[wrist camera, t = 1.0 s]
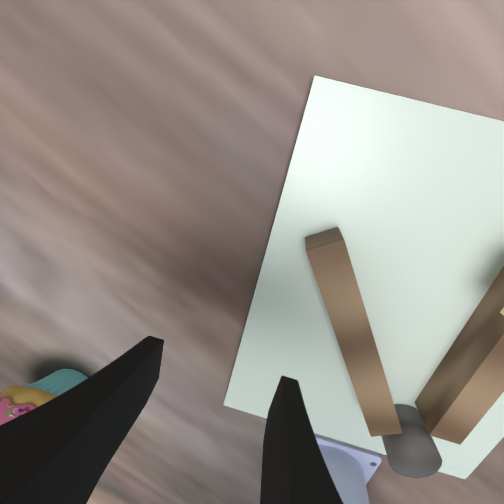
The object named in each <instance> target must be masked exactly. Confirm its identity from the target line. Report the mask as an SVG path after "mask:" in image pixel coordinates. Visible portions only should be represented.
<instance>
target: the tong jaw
mask: <svg viewBox="0 0 504 504" xmlns="http://www.w3.org/2000/svg"><path fill="white" fill-rule="evenodd" d="M305 246H306V253H307V256H308V258H309V261H310V264H311V267H312V270H313V273H314V276H315V278H316V281H317V284H318V287H319V290H320V293H321V296H322V299H323V301H324V304H325V307H326V310H327V313H328V316H329V319H330V321H331V324H332V327H333V330H334V333H335V336H336V339H337V341H338V344H339V347H340V350H341V353H342V356H343V359H344V361H345V364H346V367H347V370H348V373H349V376H350V379H351V381H352V384H353V387H354V390H355V393H356V396H357V399H358V402H359V404H360V407H361V410H362V413H363V416H364V419H365V422H366V424H367V427H368V430H369V433H370V436H371V437H374V436H383V435H391V434H400V433H402V429H401V426H400V423H399V420H398V416H397V413H396V410H395V406H394V403H393V400H392V396H391V393H390V390H389V386H388V383H387V380H386V376H385V373H384V370H383V366H382V363H381V360H380V356H379V353H378V350H377V347H376V343H375V340H374V337H373V333H372V330H371V327H370V323H369V320H368V317H367V313H366V310H365V307H364V303H363V300H362V297H361V293H360V290H359V287H358V283H357V280H356V277H355V273H354V270H353V267H352V264H351V260H350V257H349V254H348V250H347V247H346V244H345V240H344V238H343V236H342V234H341V232H340V229H339V227H336V228H333V229H329V230H326V231H323V232H320V233H317V234H314V235H310V236H307V237H305Z"/></svg>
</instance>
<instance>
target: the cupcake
mask: <svg viewBox="0 0 504 504" xmlns="http://www.w3.org/2000/svg"><path fill="white" fill-rule="evenodd" d="M87 378H88V377H87V376H86V375H84V374H83V373H81V372H79V371H76V370H73V369H60V370H57V371H55V372H54V373H52V374H50V375H48V376H46V377H45V378H43V379H41V380H39V381H37V382H34V383H31V384H27V385H24V386H22V387H20V386H11V387H9V388H7V389H5V390H4V391H2V392H0V425H2V424H4V423H6V422H8V421H10V420H12V419H14V418H16V417H18V416H20V415H22V414H24V413H26V412H28V411H30V410H33V409H35V408H36V407H38V406H40V405H42V404H44V403H46V402H48V401H50V400H51V399H53V398H55V397H57V396H59V395H61V394H62V393H64V392H66V391H67V390H69V389H71V388H73V387H74V386H76V385H77V384H79V383H81V382H82V381H84V380H85V379H87Z"/></svg>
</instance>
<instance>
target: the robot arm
mask: <svg viewBox="0 0 504 504" xmlns="http://www.w3.org/2000/svg"><path fill="white" fill-rule="evenodd" d="M163 344H164V340H162V339H159V338H155V337H152V336H148V337H146V338H145V339H143V340H142V341H141V342H139V343H138V344H137V345H135V346H134V347H133V348H131V349H130V350H128V351H127V352H126V353H124V354H123V355H122V356H120V357H119V358H117V359H116V360H114V361H113V362H111V363H110V364H109V365H107V366H106V367H104V368H103V369H101V370H100V371H98V372H97V373H95V374H94V375H92V376H90V377H89V378H87V379H85V380H84V381H82V382H81V383H79V384H77V385H76V386H74V387H73V388H71V389H69V390H67V391H66V392H64V393H62V394H61V395H59V396H57V397H55V398H53V399H51V400H50V401H48V402H46V403H44V404H42V405H40V406H38V407H36V408H35V409H33V410H30V411H28V412H26V413H24V414H22V415H20V416H18V417H16V418H14V419H12V420H10V421H8V422H6V423H4V424H2V425H0V504H86V503H87V501H88V499H89V497H90V495H91V494H92V492H93V490H94V488H95V486H96V484H97V482H98V480H99V479H100V477H101V475H102V473H103V472H104V470H105V468H106V467H107V465H108V463H109V462H110V460H111V459H112V457H113V455H114V454H115V452H116V451H117V449H118V447H119V446H120V444H121V443H122V441H123V440H124V438H125V436H126V435H127V433H128V432H129V430H130V429H131V427H132V425H133V424H134V422H135V421H136V419H137V417H138V416H139V414H140V413H141V411H142V409H143V408H144V406H145V405H146V403H147V401H148V399H149V397H150V395H151V393H152V391H153V389H154V387H155V385H156V383H157V381H158V378H159V372H160V365H161V358H162V351H163ZM381 461H382V459H381V456H380V454H378V453H376V452H373V451H370V450H366V449H363V448H360V447H357V446H353V445H350V444H347V443H344V442H340V441H337V440H334V439H331V438H327V437H324V436H321V435H318V434H314V432H313V429H312V426H311V423H310V420H309V417H308V414H307V410H306V407H305V404H304V400H303V397H302V393H301V389H300V385H299V382H298V380H296V379H293V378H289V377H286V376H281V378H280V381H279V384H278V386H277V389H276V392H275V394H274V397H273V400H272V403H271V405H270V408H269V411H268V416H267V422H266V428H265V435H264V444H263V461H262V479H261V498H260V504H370V503H369V498H368V493H367V488H366V484H367V483H368V481H369V480H370V478H371V477H372V475H373V474H374V472H375V471H376V469H377V468H378V466H379V465H380V463H381Z"/></svg>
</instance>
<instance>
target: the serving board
mask: <svg viewBox="0 0 504 504" xmlns="http://www.w3.org/2000/svg"><path fill="white" fill-rule="evenodd" d="M336 227H339V229H340V232H341V234H342V236H343V238H344V240H345V244H346V247H347V250H348V254H349V257H350V260H351V264H352V267H353V270H354V273H355V277H356V280H357V283H358V287H359V290H360V293H361V297H362V300H363V303H364V307H365V310H366V313H367V317H368V320H369V323H370V327H371V330H372V333H373V337H374V340H375V343H376V347H377V350H378V353H379V356H380V360H381V363H382V366H383V370H384V373H385V376H386V380H387V383H388V386H389V390H390V393H391V396H392V400H393V403H394V404H406V405H410V406H413V407H415V408H416V409H417V407H416V405H415V403H414V402H415V400H416V399H417V397H418V396H419V394H420V393H421V391H422V390H423V388H424V387H425V385H426V384H427V382H428V381H429V379H430V377H431V376H432V374H433V373H434V371H435V370H436V368H437V367H438V365H439V364H440V362H441V361H442V359H443V358H444V356H445V355H446V353H447V352H448V350H449V349H450V347H451V345H452V344H453V342H454V341H455V339H456V338H457V336H458V335H459V333H460V332H461V330H462V329H463V327H464V326H465V324H466V323H467V321H468V320H469V318H470V317H471V315H472V313H473V312H474V310H475V309H476V307H477V306H478V304H479V303H480V301H481V300H482V298H483V297H484V295H485V294H486V292H487V291H488V289H489V288H490V286H491V284H492V283H493V281H494V280H495V278H496V277H497V275H498V274H499V272H500V271H501V269H502V268H503V266H504V122H503V121H499V120H495V119H491V118H487V117H483V116H479V115H475V114H471V113H466V112H462V111H458V110H454V109H450V108H446V107H442V106H438V105H434V104H429V103H425V102H421V101H417V100H413V99H409V98H405V97H401V96H397V95H392V94H388V93H384V92H380V91H376V90H372V89H368V88H364V87H360V86H355V85H351V84H347V83H343V82H339V81H335V80H331V79H327V78H323V77H319V76H314V80H313V83H312V87H311V90H310V94H309V98H308V101H307V105H306V108H305V112H304V116H303V119H302V123H301V127H300V130H299V134H298V137H297V141H296V145H295V148H294V152H293V155H292V159H291V163H290V166H289V170H288V173H287V177H286V181H285V184H284V188H283V192H282V195H281V199H280V202H279V206H278V210H277V213H276V217H275V220H274V224H273V228H272V231H271V235H270V238H269V242H268V246H267V249H266V253H265V257H264V260H263V264H262V267H261V271H260V275H259V278H258V282H257V285H256V289H255V293H254V296H253V300H252V303H251V307H250V311H249V314H248V318H247V322H246V325H245V329H244V332H243V336H242V340H241V343H240V347H239V350H238V354H237V358H236V361H235V365H234V368H233V372H232V376H231V379H230V383H229V387H228V390H227V394H226V397H225V401H224V406H228V407H231V408H234V409H237V410H241V411H244V412H247V413H250V414H254V415H257V416H260V417H263V418H267V416H268V411H269V408H270V405H271V403H272V400H273V397H274V394H275V392H276V389H277V386H278V384H279V381H280V378H281V376H286V377H289V378H293V379H296V380H298V382H299V385H300V389H301V393H302V397H303V400H304V404H305V407H306V410H307V414H308V417H309V420H310V423H311V426H312V429H313V432H314V433H316V434H319V435H322V436H325V437H329V438H332V439H335V440H338V441H342V442H345V443H348V444H351V445H355V446H358V447H361V448H364V449H368V450H371V451H374V452H377V453H381V454H384V455H387V454H386V451H385V447H384V444H383V440H382V437H381V436H374V437H371V436H370V433H369V430H368V427H367V424H366V422H365V419H364V416H363V413H362V410H361V407H360V404H359V402H358V399H357V396H356V393H355V390H354V387H353V384H352V381H351V379H350V376H349V373H348V370H347V367H346V364H345V361H344V359H343V356H342V353H341V350H340V347H339V344H338V341H337V339H336V336H335V333H334V330H333V327H332V324H331V321H330V319H329V316H328V313H327V310H326V307H325V304H324V301H323V299H322V296H321V293H320V290H319V287H318V284H317V281H316V278H315V276H314V273H313V270H312V267H311V264H310V261H309V258H308V256H307V253H306V246H305V237H307V236H310V235H314V234H317V233H320V232H323V231H326V230H329V229H333V228H336ZM503 437H504V392H503V393H502V395H501V396H500V397H499V398H498V399H497V401H496V402H495V403H494V404H493V406H492V407H491V408H490V409H489V410H488V412H487V413H486V414H485V415H484V417H483V418H482V419H481V420H480V421H479V423H478V424H477V425H476V426H475V428H474V429H473V430H472V431H471V432H470V434H469V435H468V436H467V437H466V439H465V440H464V441H463V442H462V443H461V445H459V444H456V443H453V442H449V441H446V440H443V439H439V438H436V437H433V436H432V438H433V440H434V443H435V445H436V447H437V449H438V451H439V454H440V456H441V458H442V465H441V467H440V469H439V470H438V471H439V472H442V473H446V474H449V475H452V476H455V477H459V478H462V479H466V478H467V477H468V476H469V475H470V474H471V473H472V471H473V470H474V469H475V468H476V467H477V466H478V465H479V464H480V462H481V461H482V460H483V459H484V458H485V457H486V456H487V455H488V454H489V452H490V451H491V450H492V449H493V448H494V447H495V446H496V445H497V443H498V442H499V441H500V440H501V439H502V438H503Z"/></svg>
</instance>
